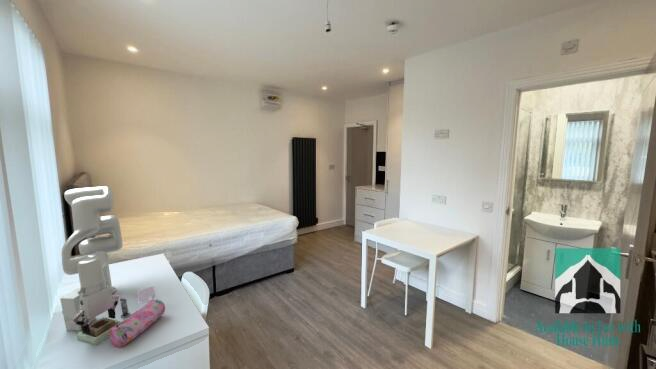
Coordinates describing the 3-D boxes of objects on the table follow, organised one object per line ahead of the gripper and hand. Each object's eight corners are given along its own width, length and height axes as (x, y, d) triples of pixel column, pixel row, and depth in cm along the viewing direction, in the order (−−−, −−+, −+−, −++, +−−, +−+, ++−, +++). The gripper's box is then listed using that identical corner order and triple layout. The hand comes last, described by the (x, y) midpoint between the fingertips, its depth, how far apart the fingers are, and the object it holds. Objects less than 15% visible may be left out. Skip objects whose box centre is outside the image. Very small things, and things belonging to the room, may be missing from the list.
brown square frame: (97, 338, 108) (96, 331, 107) (85, 335, 110) (84, 327, 109) (115, 327, 115) (114, 320, 114) (104, 324, 117) (103, 317, 116)
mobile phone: (153, 285, 149) (156, 297, 137) (153, 287, 149) (156, 299, 138) (137, 290, 145) (138, 303, 133) (137, 292, 145) (138, 304, 133)
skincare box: (83, 318, 123) (77, 287, 120) (97, 318, 122) (91, 287, 120) (65, 331, 114) (58, 297, 112) (79, 331, 114) (73, 297, 112)
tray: (77, 339, 109) (76, 334, 108) (106, 322, 119) (105, 317, 119) (95, 345, 106) (94, 339, 105) (124, 327, 116) (123, 321, 116)
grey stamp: (118, 317, 123) (116, 300, 121) (126, 312, 126) (124, 296, 125) (124, 318, 122) (121, 301, 120) (132, 314, 125) (129, 297, 124)
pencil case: (126, 350, 102) (122, 329, 101) (106, 347, 104) (103, 327, 103) (168, 315, 123) (166, 297, 122) (151, 313, 125) (149, 296, 124)
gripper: (74, 300, 100) (82, 341, 103) (121, 278, 116) (127, 314, 119) (61, 297, 102) (69, 337, 105) (109, 276, 119) (115, 311, 121)
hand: (100, 325), depth 112 cm, fingers open, 9 cm apart
